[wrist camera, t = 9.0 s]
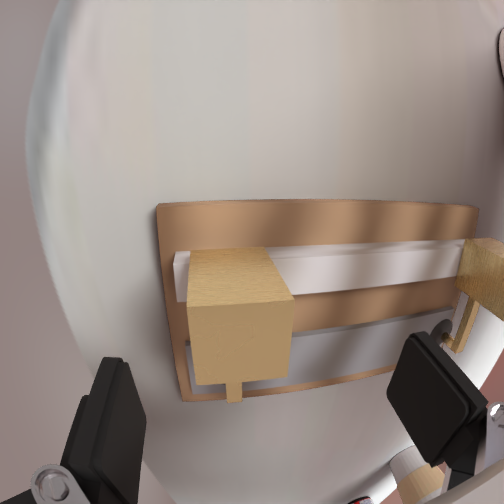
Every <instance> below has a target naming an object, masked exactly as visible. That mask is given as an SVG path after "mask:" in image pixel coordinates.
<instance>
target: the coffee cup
mask: <svg viewBox="0 0 504 504" xmlns="http://www.w3.org/2000/svg"><path fill="white" fill-rule="evenodd" d="M389 465H390V468H391V470H392V473H393V476H394V478H395V481H396V483H397V488H398V491H399V493H400V496H401V499H402V501H403V504H423V503H425V502H427V501H429V500H431V499H433V498H435V497H437V496H439V495H440V493H441V489H442V485H443V481H444V476H445V475H444V473H443V472H442V471H441V470H440V469H439V468H438V466H435V467H433V468H431V466H430V465H429V463H426V462H425V461H424V460H423V458H422V456H421V454H420V453H419V451H418V449H417V447H416V446H415V445H414V446H411V447H409V448H407V449H405V450H403V451H401V452H400V453H398V454H397V455H396V456H395V457H394V458H393V459H392V460H391V461H390V463H389Z"/></svg>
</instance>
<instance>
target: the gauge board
mask: <svg viewBox="0 0 504 504" xmlns="http://www.w3.org/2000/svg"><path fill="white" fill-rule="evenodd" d="M156 213H157V226H158V238H159V249H160V259H161V268H162V277H163V286H164V294H165V301H166V309H167V316H168V323H169V329H170V335H171V342H172V348H173V353H174V359H175V365H176V370H177V375H178V381H179V386H180V391H181V396H182V400H183V402H184V401H207V400H223V399H227V398H226V386H225V384H210V385H196V379H195V372H194V364H193V357H192V349H191V341H190V333H189V325H188V316H187V291H188V276H189V263H190V250H205V249H227V248H249V247H264V248H265V250H266V251H267V253H268V255H269V256H270V258H271V260H272V261H273V263H274V265H275V267H276V268H277V270H278V272H279V273H280V275H281V277H282V278H283V280H284V282H285V284H286V285H287V287H288V289H289V290H290V292H291V294H292V296H293V297H294V299H295V304H294V315H293V327H292V337H291V347H290V357H289V367H288V376H287V377H283V378H275V379H267V380H258V381H248V382H242V398H246V397H255V396H264V395H272V394H280V393H287V392H294V391H300V390H306V389H312V388H318V387H323V386H328V385H334V384H339V383H343V382H348V381H353V380H357V379H361V378H366V377H370V376H374V375H378V374H382V373H386V372H390V371H393V370H395V368H396V365H397V363H398V360H399V357H400V354H401V352H402V349H403V346H404V343H405V340H406V339H407V338H408V337H409V335H410V334H412V333H416V332H421V331H426V332H427V333H428V334H429V335H430V336H431V337H432V338H433V339H434V340H435V341H436V342H437V343H438V345H439V346H440V347H441V348H442V347H443V344H444V342H443V341H442V340H441V336H442V334H443V333H444V332H447V333H448V334H450V333H451V330H452V319H453V316H454V313H455V310H456V307H457V304H458V300H459V297H460V294H461V290H460V289H458V288H457V287H456V286H454V284H455V280H456V277H457V273H458V269H459V264H460V260H461V256H462V251H463V246H464V241H465V239H469V238H474V236H475V231H476V225H477V219H478V213H479V209H478V208H476V207H473V206H469V205H456V204H441V203H424V202H404V201H378V200H334V199H271V200H226V201H199V202H177V203H159V204H158V205H157V207H156Z"/></svg>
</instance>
